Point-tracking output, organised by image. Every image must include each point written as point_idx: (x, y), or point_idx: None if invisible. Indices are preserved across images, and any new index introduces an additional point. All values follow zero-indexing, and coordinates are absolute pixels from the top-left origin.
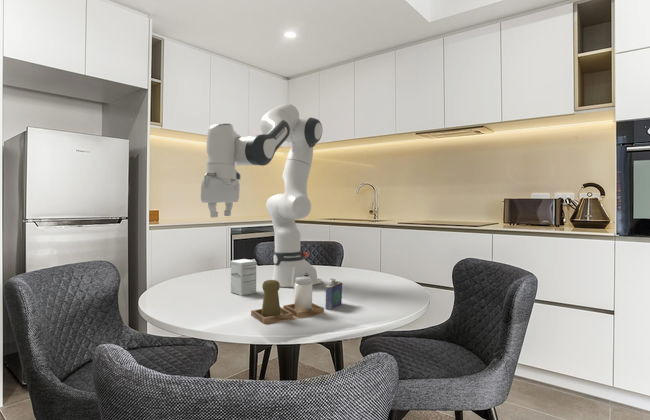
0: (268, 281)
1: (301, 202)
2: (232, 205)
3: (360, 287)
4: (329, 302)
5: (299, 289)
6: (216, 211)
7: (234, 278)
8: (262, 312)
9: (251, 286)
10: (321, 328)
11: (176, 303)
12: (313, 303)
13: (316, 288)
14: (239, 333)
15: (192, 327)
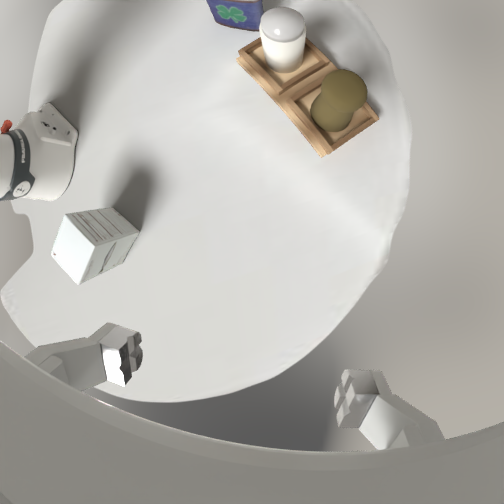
0: (358, 91)
1: None
2: (42, 348)
3: (83, 33)
4: (263, 13)
5: (304, 39)
6: (381, 395)
7: (110, 260)
8: (345, 125)
9: (113, 216)
10: (350, 36)
11: (220, 344)
12: (255, 40)
13: (80, 96)
14: (399, 163)
15: (374, 258)
